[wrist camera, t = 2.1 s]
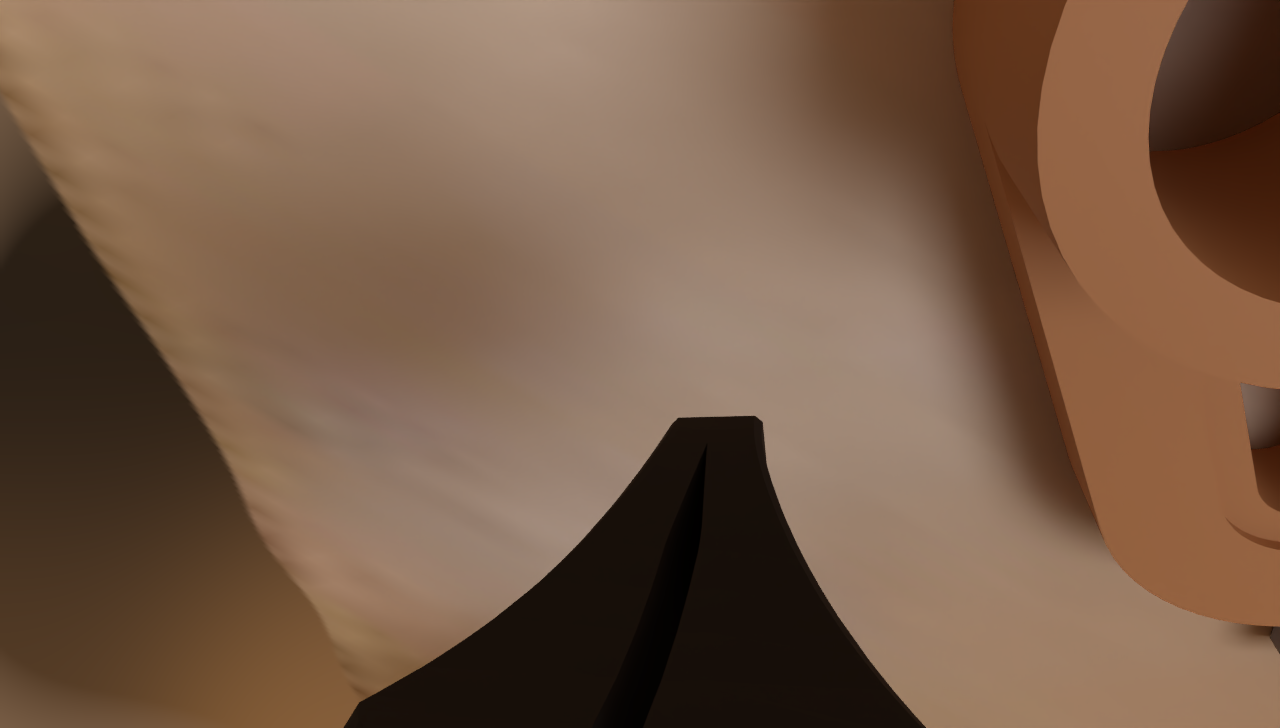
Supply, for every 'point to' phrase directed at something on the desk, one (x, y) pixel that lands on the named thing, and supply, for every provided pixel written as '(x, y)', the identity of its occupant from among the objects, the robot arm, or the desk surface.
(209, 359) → the desk surface
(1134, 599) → the desk surface
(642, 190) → the desk surface
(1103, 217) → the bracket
